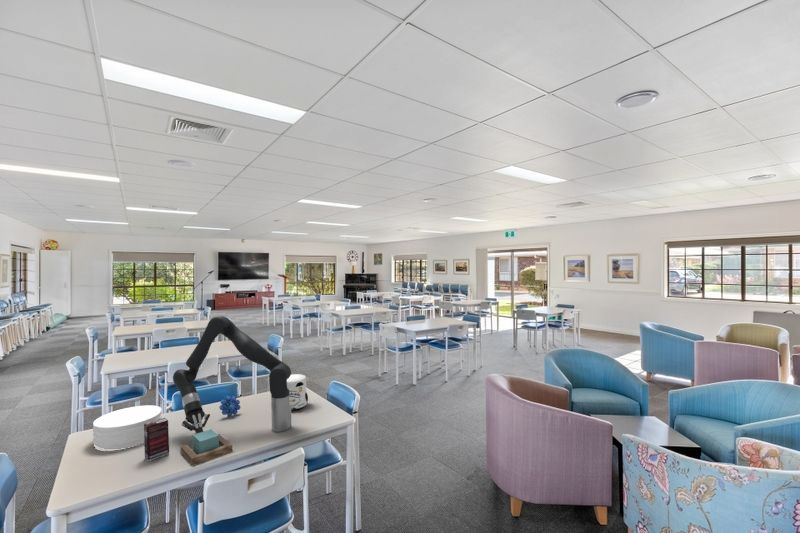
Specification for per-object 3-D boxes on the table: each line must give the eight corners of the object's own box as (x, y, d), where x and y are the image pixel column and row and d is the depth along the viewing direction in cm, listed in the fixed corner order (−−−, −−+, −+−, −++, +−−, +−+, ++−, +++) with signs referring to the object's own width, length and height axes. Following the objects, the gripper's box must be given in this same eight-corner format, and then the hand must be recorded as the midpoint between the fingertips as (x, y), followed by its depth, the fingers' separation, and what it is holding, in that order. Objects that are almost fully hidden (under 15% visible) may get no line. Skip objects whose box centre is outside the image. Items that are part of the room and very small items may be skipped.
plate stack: (145, 422, 206) (145, 402, 206) (172, 433, 192) (172, 411, 192) (83, 443, 182) (83, 420, 182) (108, 457, 168) (108, 432, 168)
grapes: (222, 421, 205) (221, 400, 205) (218, 418, 210) (217, 397, 210) (243, 415, 213) (243, 394, 213) (238, 412, 218) (238, 392, 218)
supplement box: (165, 451, 172) (165, 417, 172) (169, 454, 169) (168, 419, 169) (143, 458, 165) (143, 423, 165) (147, 462, 162) (147, 426, 162)
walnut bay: (219, 440, 182) (219, 434, 182) (232, 451, 171) (232, 444, 171) (180, 452, 170) (180, 446, 170) (192, 465, 159) (192, 458, 159)
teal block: (211, 445, 177) (211, 429, 177) (219, 452, 170) (218, 435, 170) (192, 452, 171) (192, 434, 171) (200, 459, 164) (200, 441, 164)
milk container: (286, 415, 212) (285, 384, 212) (273, 407, 225) (273, 377, 225) (313, 407, 224) (312, 377, 224) (299, 400, 237) (299, 372, 237)
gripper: (178, 404, 178) (187, 437, 169) (207, 396, 187) (217, 427, 179) (175, 412, 181) (183, 444, 173) (204, 404, 191) (213, 435, 182)
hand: (200, 436), depth 176 cm, fingers closed
